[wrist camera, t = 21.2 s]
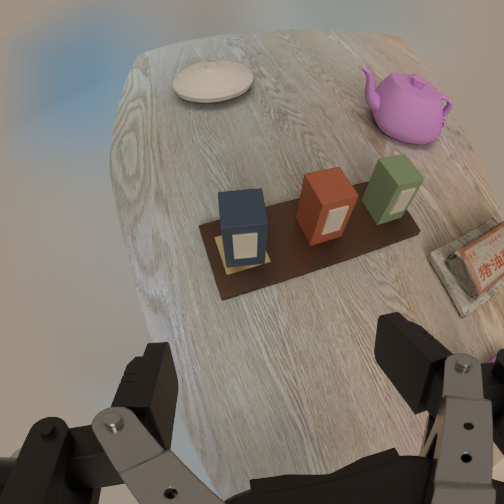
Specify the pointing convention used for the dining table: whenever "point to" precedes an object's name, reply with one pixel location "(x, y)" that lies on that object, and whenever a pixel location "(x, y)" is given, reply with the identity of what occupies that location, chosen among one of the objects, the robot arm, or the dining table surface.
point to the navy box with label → (243, 227)
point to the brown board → (301, 246)
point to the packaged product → (472, 266)
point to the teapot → (406, 107)
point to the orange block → (325, 205)
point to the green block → (391, 188)
